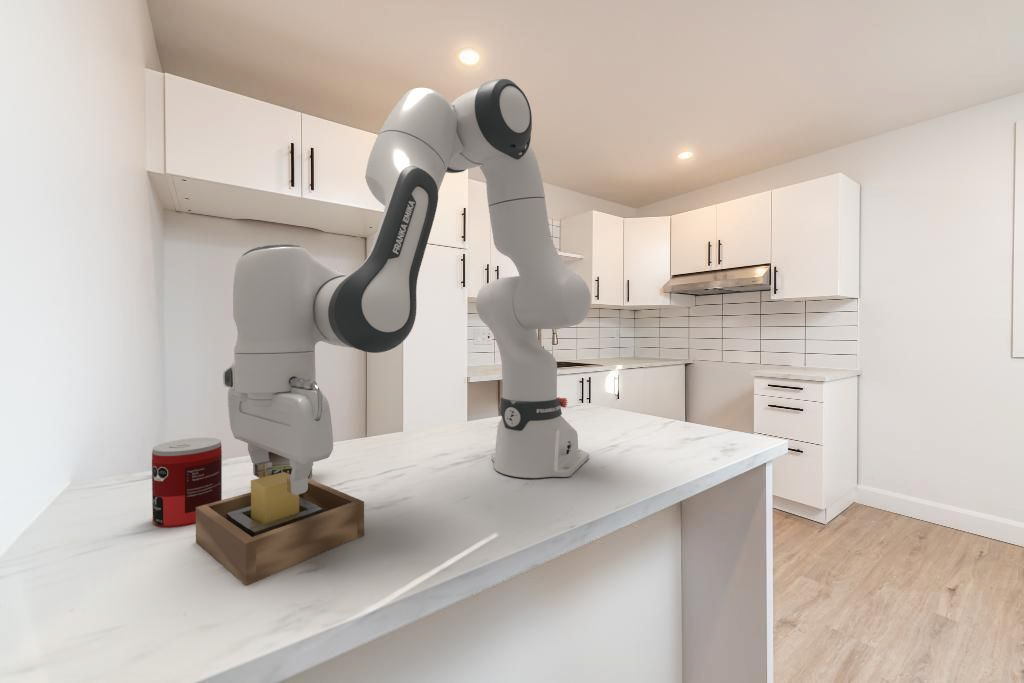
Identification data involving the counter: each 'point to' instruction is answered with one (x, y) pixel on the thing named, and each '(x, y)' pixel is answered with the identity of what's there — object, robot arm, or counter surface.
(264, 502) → the plug
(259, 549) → the walled box
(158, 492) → the canned food
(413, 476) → the counter surface
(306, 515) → the socket
